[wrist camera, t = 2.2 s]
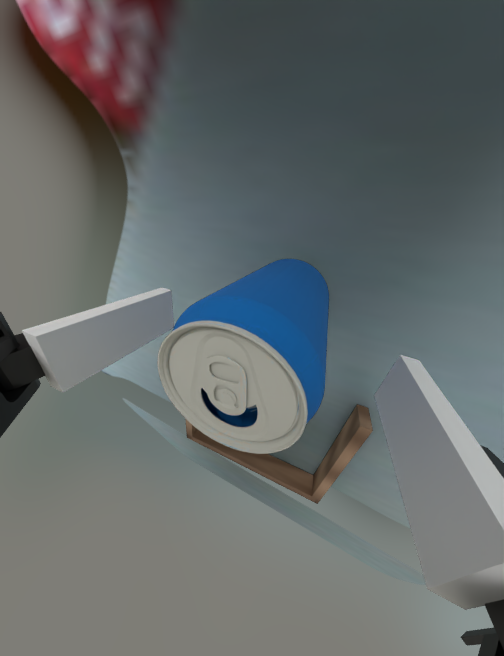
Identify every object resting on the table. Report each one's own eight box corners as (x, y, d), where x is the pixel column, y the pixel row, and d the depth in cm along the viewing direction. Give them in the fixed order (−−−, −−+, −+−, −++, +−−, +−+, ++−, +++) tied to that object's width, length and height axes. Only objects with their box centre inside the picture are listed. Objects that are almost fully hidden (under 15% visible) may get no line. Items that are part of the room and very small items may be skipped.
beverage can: (253, 323, 19) (166, 426, 9) (255, 255, 16) (126, 295, 6) (321, 335, 17) (305, 485, 7) (337, 260, 14) (349, 332, 4)
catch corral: (194, 345, 23) (180, 356, 21) (368, 408, 18) (372, 430, 16) (196, 423, 31) (187, 437, 29) (318, 482, 26) (317, 503, 24)
